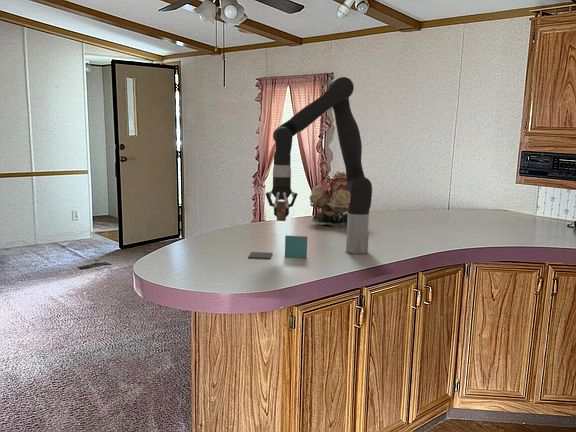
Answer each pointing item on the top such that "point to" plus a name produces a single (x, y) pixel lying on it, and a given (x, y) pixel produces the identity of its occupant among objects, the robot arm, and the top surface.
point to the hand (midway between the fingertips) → (281, 216)
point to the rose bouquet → (332, 201)
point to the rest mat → (260, 255)
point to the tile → (296, 246)
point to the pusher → (281, 211)
